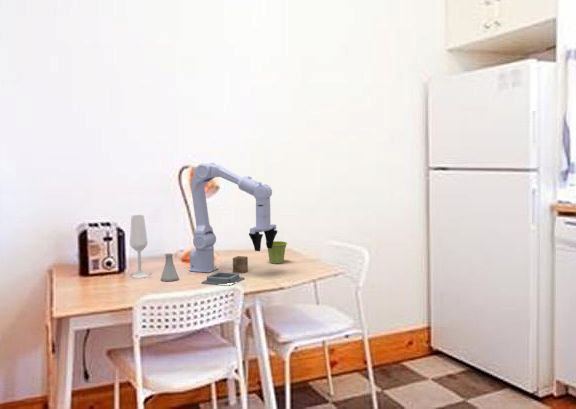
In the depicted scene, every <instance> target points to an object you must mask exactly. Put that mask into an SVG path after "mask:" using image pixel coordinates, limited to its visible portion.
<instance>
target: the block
mask: <svg viewBox="0 0 576 409" xmlns="http://www.w3.org/2000/svg"><path fill="white" fill-rule="evenodd" d="M248 257H249V256H242V255H240V256H239V255H237V256H234V257H232V273H239V274H245V273H247V272H248V271H249V265H248V264H249V263H248V261H249V259H248Z"/></svg>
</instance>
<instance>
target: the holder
mask: <svg viewBox="0 0 576 409" xmlns="http://www.w3.org/2000/svg"><path fill="white" fill-rule="evenodd" d="M243 280H245V277H244V276H240V273H233V272H223V271H219V272H214V273H212V274H209V275H208V276H206V279H205V280H202V281H201V284H203V285H215V286H219V285H218V284H227V283H235V282H237V283H239V282H242V281H243ZM235 284H236V283H235Z"/></svg>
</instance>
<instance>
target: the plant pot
mask: <svg viewBox="0 0 576 409" xmlns="http://www.w3.org/2000/svg"><path fill="white" fill-rule="evenodd" d="M287 245H288V242H287V241H286V242H285V241H282V240H279V241H277V240H276V241H275V240H274V241H273V246H272V248H267V253H268V261H269V263H270V264H274V265H275V264H284V261H285V260H284V259H285V253H286V248H287Z"/></svg>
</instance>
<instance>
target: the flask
mask: <svg viewBox="0 0 576 409" xmlns="http://www.w3.org/2000/svg"><path fill="white" fill-rule="evenodd" d="M164 256H165V263H164V267H163V270H162V273H161V275H160V276H161V277H160V281H163V282H172V281H173V282H174V281H179V280H180V278H179V275H178V272H177V269H176V267H175V264H174V259H173V256H174V253H171V252H169V253H164Z"/></svg>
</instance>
